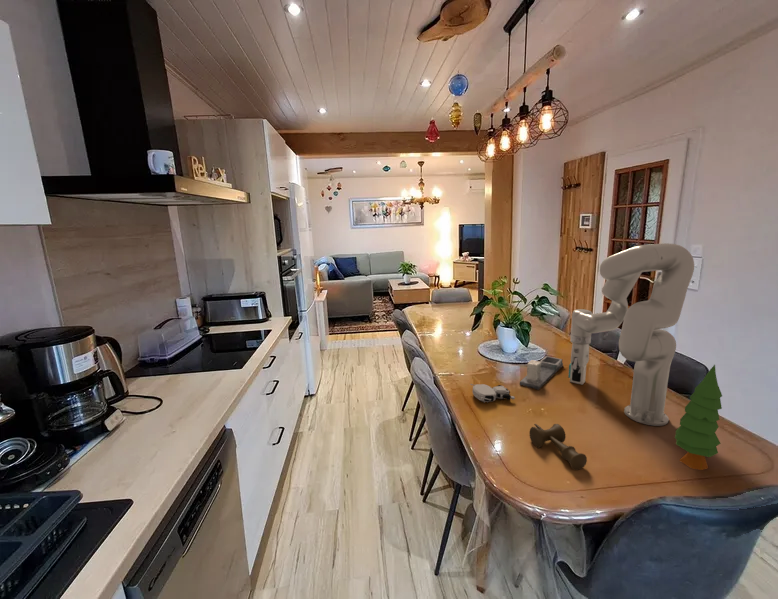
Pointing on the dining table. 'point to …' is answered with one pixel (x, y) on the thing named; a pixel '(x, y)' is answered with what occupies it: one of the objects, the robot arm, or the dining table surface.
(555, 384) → the dining table surface
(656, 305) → the robot arm
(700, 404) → the decorative tree
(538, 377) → the rail
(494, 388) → the robot toy
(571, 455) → the kendama
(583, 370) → the cream block teal pad
